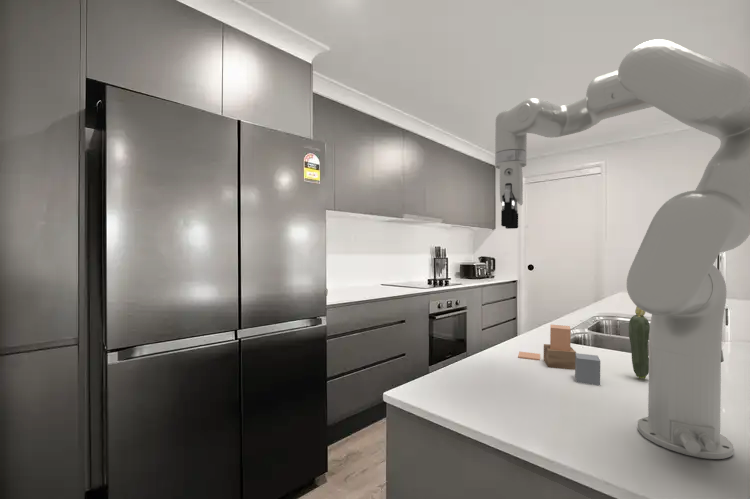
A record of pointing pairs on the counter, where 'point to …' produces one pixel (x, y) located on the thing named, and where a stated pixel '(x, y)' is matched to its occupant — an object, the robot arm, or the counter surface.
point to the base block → (559, 358)
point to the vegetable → (639, 343)
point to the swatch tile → (529, 355)
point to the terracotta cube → (560, 337)
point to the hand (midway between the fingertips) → (510, 227)
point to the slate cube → (587, 369)
